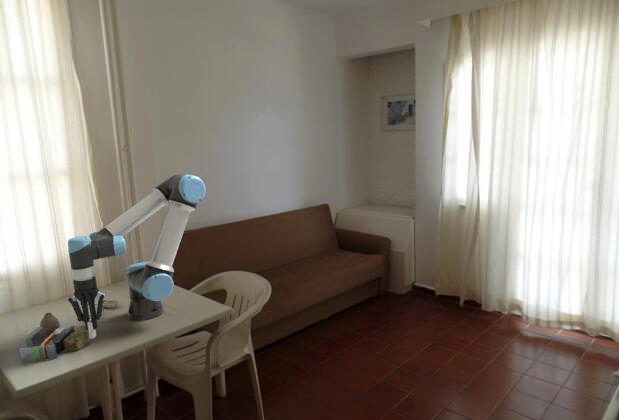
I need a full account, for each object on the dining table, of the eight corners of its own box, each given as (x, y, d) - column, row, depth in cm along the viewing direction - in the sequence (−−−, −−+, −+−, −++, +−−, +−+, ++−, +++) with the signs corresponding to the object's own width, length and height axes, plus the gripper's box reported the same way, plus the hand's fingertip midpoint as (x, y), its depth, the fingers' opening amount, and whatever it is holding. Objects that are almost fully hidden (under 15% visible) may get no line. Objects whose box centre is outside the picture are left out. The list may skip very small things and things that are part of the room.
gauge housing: (71, 340, 167) (69, 324, 166) (55, 358, 153) (52, 340, 152) (40, 344, 166) (37, 327, 165) (21, 362, 152) (18, 344, 151)
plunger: (75, 336, 170) (73, 322, 169) (56, 358, 152) (53, 342, 152) (64, 338, 169) (61, 323, 168) (43, 359, 152) (40, 344, 151)
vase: (46, 339, 170) (43, 318, 169) (38, 335, 174) (34, 315, 172) (64, 332, 176) (61, 311, 175) (55, 329, 180) (52, 309, 178)
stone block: (95, 337, 169) (93, 326, 168) (78, 352, 158) (76, 339, 157) (81, 338, 169) (79, 326, 169) (63, 353, 158) (61, 340, 157)
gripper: (105, 273, 164) (113, 331, 168) (69, 276, 163) (78, 334, 166) (99, 279, 157) (107, 339, 161) (61, 282, 155) (70, 343, 159)
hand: (93, 337), depth 164 cm, fingers closed
